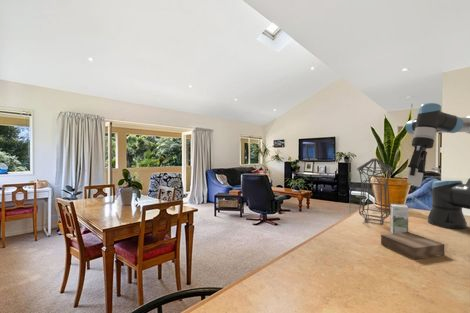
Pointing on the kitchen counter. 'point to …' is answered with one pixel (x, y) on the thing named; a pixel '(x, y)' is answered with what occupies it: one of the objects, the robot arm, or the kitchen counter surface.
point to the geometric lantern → (374, 184)
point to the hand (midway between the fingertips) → (413, 185)
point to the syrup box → (399, 218)
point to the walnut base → (412, 245)
